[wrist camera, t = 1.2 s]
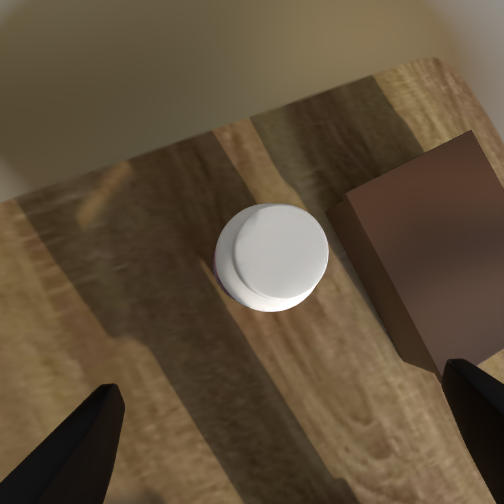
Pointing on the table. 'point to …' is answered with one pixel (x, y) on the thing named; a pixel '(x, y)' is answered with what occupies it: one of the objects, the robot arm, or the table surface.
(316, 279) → the pill bottle
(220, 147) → the table surface
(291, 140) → the table surface
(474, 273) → the cabinet
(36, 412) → the table surface
